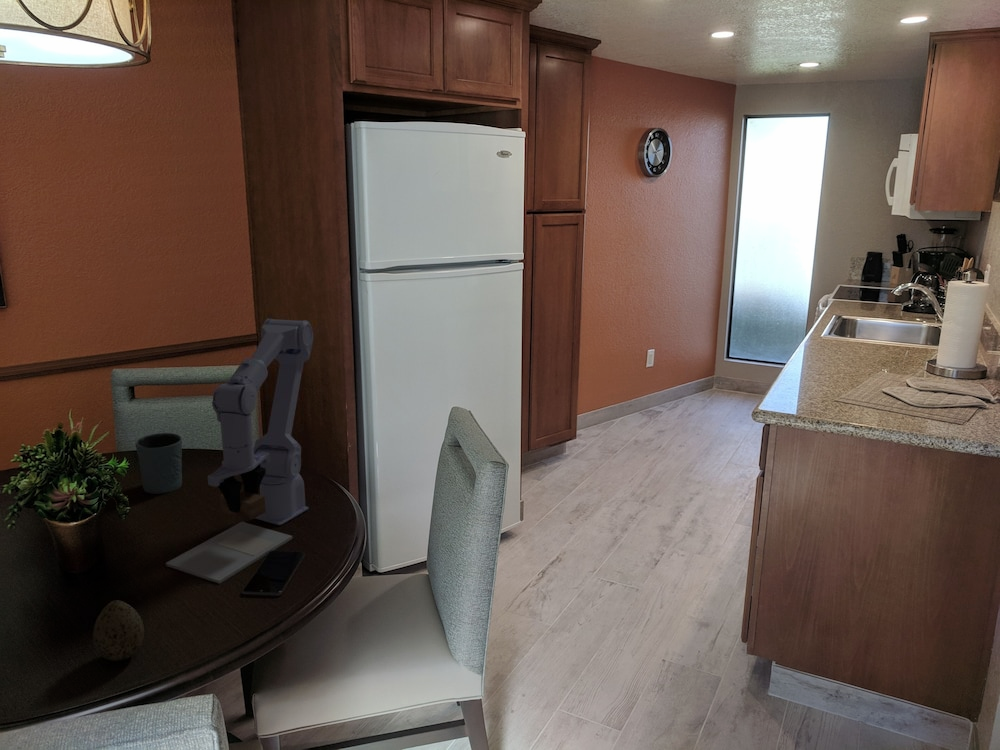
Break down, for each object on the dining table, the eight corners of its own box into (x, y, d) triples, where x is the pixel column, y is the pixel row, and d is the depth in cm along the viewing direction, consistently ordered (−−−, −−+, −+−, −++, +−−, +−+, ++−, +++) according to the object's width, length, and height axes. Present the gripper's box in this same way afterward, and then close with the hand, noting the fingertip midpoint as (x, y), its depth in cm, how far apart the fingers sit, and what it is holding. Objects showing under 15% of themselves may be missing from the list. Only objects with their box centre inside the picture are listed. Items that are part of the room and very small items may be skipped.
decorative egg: (152, 641, 123) (145, 587, 120) (139, 669, 116) (131, 612, 113) (105, 645, 122) (97, 590, 119) (89, 673, 115) (81, 616, 112)
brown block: (265, 512, 152) (264, 496, 151) (251, 519, 149) (249, 503, 148) (235, 504, 155) (234, 488, 154) (221, 511, 152) (219, 495, 151)
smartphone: (305, 551, 152) (280, 593, 136) (306, 556, 152) (280, 598, 136) (269, 550, 152) (240, 591, 136) (270, 554, 152) (240, 597, 137)
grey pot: (153, 477, 187) (148, 432, 184) (193, 478, 186) (189, 433, 183) (132, 494, 177) (126, 446, 174) (175, 496, 177) (169, 448, 173)
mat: (242, 524, 163) (241, 521, 163) (292, 538, 158) (292, 535, 157) (166, 565, 146) (165, 562, 146) (219, 583, 140) (219, 580, 140)
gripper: (249, 429, 156) (254, 489, 160) (193, 451, 143) (200, 516, 147) (275, 434, 153) (279, 496, 157) (221, 458, 140) (227, 524, 144)
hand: (243, 506), depth 152 cm, fingers closed on brown block, 4 cm apart
